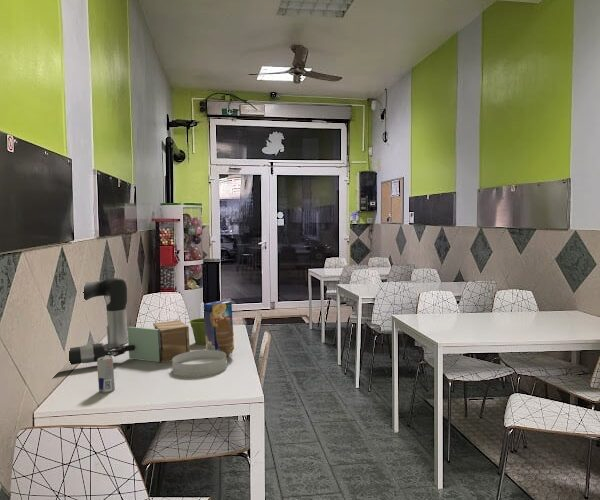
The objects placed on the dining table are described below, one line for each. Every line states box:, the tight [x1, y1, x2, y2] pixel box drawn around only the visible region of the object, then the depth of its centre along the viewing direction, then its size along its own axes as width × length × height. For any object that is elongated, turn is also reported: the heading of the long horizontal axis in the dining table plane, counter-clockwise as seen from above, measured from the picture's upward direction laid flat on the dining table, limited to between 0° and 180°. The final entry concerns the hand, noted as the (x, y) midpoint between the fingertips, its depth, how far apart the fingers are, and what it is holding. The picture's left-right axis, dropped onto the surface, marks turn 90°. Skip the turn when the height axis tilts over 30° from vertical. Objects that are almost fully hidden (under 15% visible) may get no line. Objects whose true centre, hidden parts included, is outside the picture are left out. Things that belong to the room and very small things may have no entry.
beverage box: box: [203, 300, 235, 351], centre depth 235 cm, size 7×11×22 cm, turn 138°
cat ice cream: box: [216, 315, 234, 357], centre depth 224 cm, size 9×8×18 cm
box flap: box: [127, 326, 163, 363], centre depth 223 cm, size 19×1×14 cm, turn 61°
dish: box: [171, 349, 228, 378], centre depth 208 cm, size 22×22×5 cm
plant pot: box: [188, 317, 206, 345], centre depth 252 cm, size 12×12×11 cm
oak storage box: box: [152, 319, 191, 363], centre depth 229 cm, size 18×12×14 cm, turn 26°
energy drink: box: [96, 356, 116, 394], centre depth 184 cm, size 5×5×12 cm
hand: (134, 347), depth 224 cm, fingers closed
